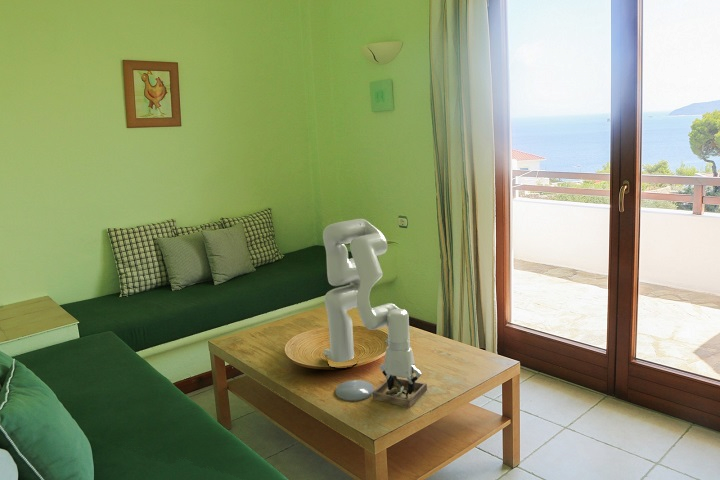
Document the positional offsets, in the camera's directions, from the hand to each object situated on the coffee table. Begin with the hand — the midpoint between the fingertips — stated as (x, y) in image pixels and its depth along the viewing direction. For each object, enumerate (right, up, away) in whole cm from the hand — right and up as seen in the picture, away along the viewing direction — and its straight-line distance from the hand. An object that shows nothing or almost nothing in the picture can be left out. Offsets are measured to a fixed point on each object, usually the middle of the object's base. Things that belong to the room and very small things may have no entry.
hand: (401, 390), depth 210 cm
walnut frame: (0, -2, +1) cm, 2 cm away
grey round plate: (-17, -2, +5) cm, 17 cm away
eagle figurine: (-1, -2, +1) cm, 3 cm away
